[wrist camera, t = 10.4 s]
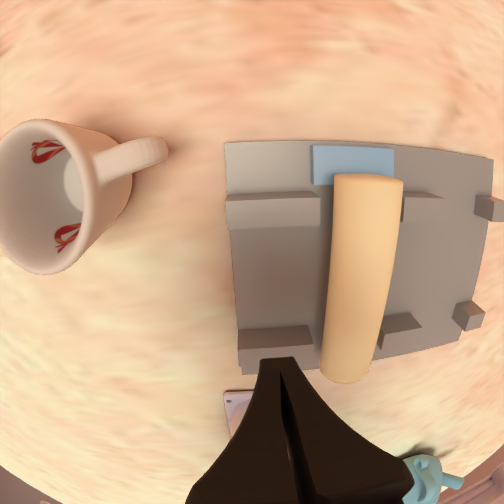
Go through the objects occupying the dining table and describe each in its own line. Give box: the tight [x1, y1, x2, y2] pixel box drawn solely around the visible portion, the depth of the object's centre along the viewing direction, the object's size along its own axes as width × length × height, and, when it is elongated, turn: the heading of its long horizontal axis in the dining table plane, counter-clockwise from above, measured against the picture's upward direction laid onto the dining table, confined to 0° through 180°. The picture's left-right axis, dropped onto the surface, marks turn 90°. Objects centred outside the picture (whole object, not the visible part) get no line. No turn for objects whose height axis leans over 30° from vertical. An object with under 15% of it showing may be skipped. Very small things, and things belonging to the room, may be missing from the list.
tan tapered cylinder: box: [319, 173, 403, 384], centre depth 18 cm, size 14×4×4 cm, turn 3°
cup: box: [0, 119, 169, 275], centre depth 14 cm, size 11×8×8 cm
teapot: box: [402, 454, 465, 504], centre depth 30 cm, size 20×20×13 cm
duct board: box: [224, 141, 504, 375], centre depth 20 cm, size 18×22×3 cm
